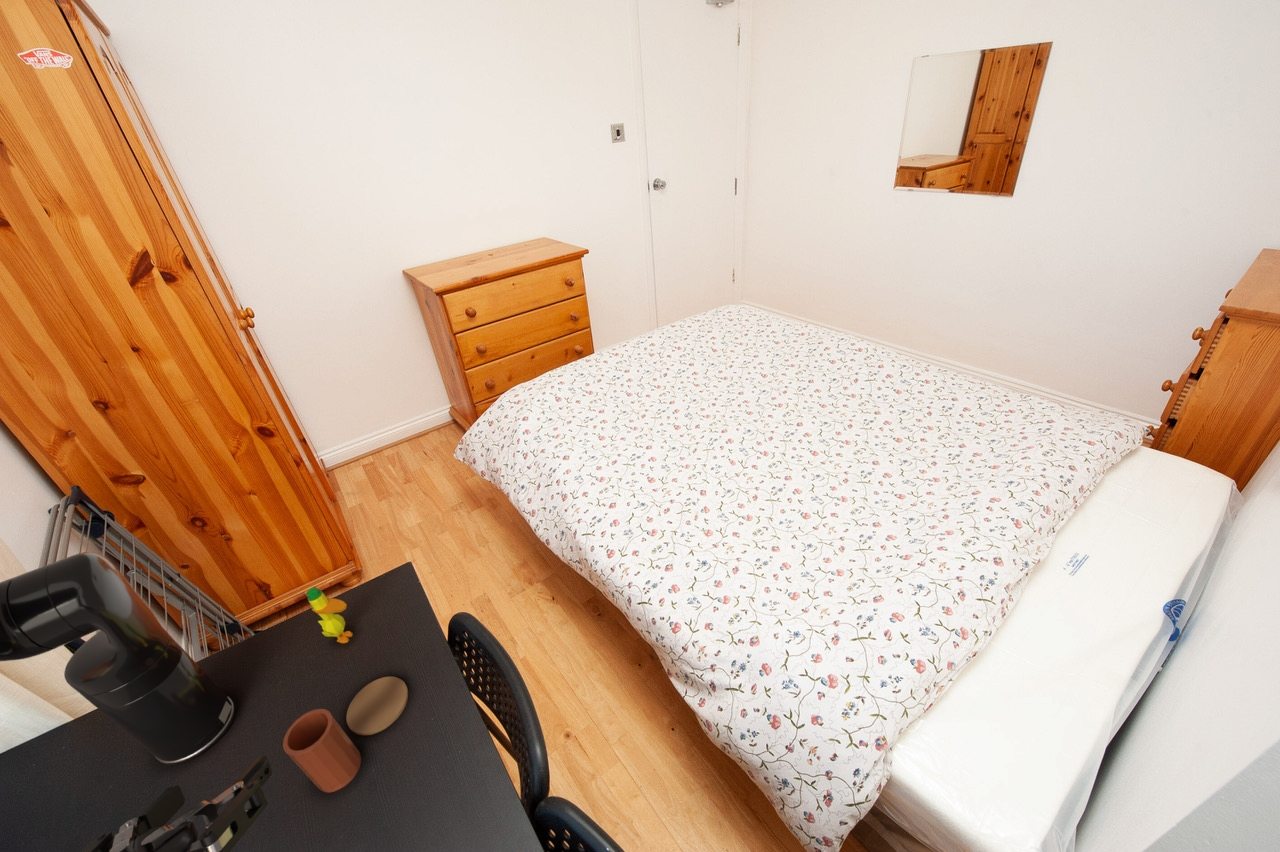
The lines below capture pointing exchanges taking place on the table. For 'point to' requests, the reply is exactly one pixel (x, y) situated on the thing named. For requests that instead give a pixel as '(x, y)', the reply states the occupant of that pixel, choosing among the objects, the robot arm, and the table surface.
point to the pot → (322, 750)
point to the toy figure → (329, 614)
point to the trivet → (377, 705)
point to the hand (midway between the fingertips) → (222, 778)
